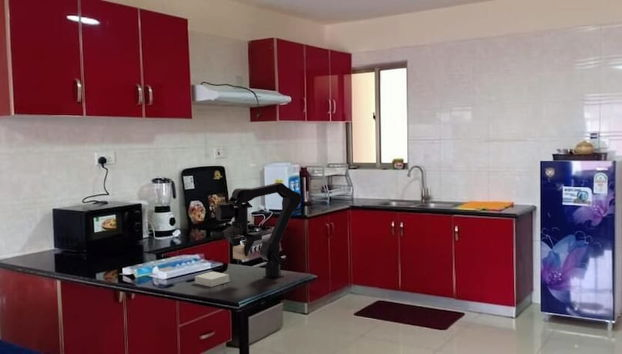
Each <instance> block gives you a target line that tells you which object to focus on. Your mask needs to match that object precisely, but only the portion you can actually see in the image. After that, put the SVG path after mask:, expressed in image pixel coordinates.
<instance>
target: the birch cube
mask: <svg viewBox="0 0 622 354" xmlns="http://www.w3.org/2000/svg"><path fill="white" fill-rule="evenodd" d="M250 258H251V250H250V251H249V253H248V256H245V252H244V244H240V245H238V246H232V259H235V260H239V261H240V260H241V261H243V260H247V259H250Z"/></svg>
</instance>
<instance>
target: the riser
mask: <svg viewBox="0 0 622 354" xmlns="http://www.w3.org/2000/svg"><path fill="white" fill-rule="evenodd" d="M228 282H230V275H229V274H227V273H223V272H222V273H221V272H218V271H210V272H206V273H202V274H198V275H196V276H195V275H194V284H197V285H201V286H206V287H209V288H210V287H211V288H212V287H215V286H219V285H223V284H225V283H228Z"/></svg>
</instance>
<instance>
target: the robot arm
mask: <svg viewBox="0 0 622 354" xmlns="http://www.w3.org/2000/svg"><path fill="white" fill-rule="evenodd" d="M272 194H277V195H278V196H279V197H281V198H282V200H281V201H282V202H281V210H280V213H279V215H278V217H277V220H276V222H275V225H274V227H273V229H272V231H271V234H270V236H269V238H268V239H267V240H263V235H262V234H261V232H255V231H253V232H251V230H249V224H251V221H250V220H249V215H248V214H249V213H248V212H249V210H248V209H249V208H253V205H252V204H251V203H250V202H251V201H253V199H255V198H258V197H263V196H264V197H265V196H269V195H272ZM302 200H303V198H302V195H301V194H300V193H299V192H297V191H294V190H293V189H292V188H290V187H288V186H286V185H285V184H284V183H283V182H275V183H271V184H270V183H269V184H266V185H261V186H256V187H251V188H247V187H244V188H243V187H242V188H235V189H233V191H232V193H231V196H230V197H229V199H228V201H227V203H218V204H217V207H216V209H215V218H216V220H217V222H218V221H230V220H231V225H230V226H228V227H227V228H226V229H224V230H222V231H221V232H220V238H222V239H226V240H227V241H228V242H229V243H230V244H231V245H232V247H233V246H238V245H241V242H242V243H243V245H244V252H245V256H248V253H249V251H250V252H251V249H252V247H253V245H254V243H255V242H258V241H262V243H261V245H260V247H259V256H260V257H261V258H262V260H263V262H264V263H265V275H263V276H262V278H266V279H271V280H276V279H279V278H283V277H284V275H283V274H282V273H281V272H282V271H281V269H282V267H281V265H283V264H284V258H283V257H282V256H281V255H280V250H281V249H280V243H281V241H282V238H283V235H284V234H285V232H286V231H285V230H286V228H287V226H288V224H289V221H290V219H291V218H292V215H293V212H295V211H296V210H297V209H298V207H299V206H300V204H301V203H302ZM241 238H243V239H244V240H242V241H241Z"/></svg>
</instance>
